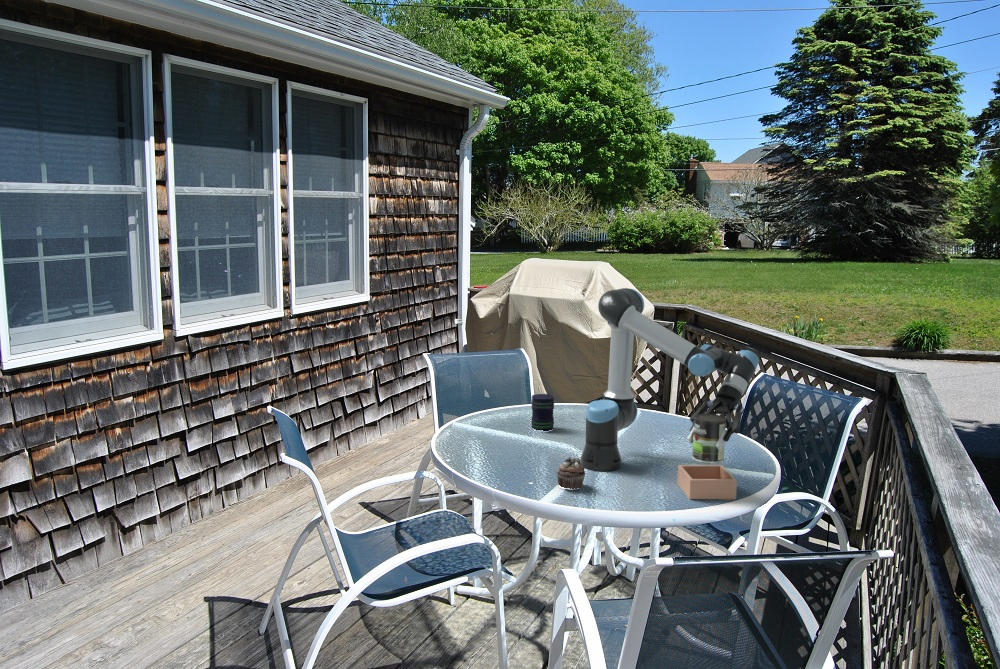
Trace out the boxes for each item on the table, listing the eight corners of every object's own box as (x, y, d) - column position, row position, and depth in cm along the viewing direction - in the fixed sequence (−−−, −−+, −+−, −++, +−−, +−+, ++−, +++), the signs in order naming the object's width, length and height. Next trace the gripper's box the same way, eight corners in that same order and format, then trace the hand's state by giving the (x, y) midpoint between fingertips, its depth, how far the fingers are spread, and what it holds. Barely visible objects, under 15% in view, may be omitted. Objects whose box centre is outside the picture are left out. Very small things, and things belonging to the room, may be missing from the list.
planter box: (689, 499, 228) (690, 480, 227) (677, 483, 242) (677, 465, 242) (735, 499, 228) (736, 480, 227) (720, 483, 243) (721, 465, 242)
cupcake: (582, 481, 244) (583, 453, 243) (586, 491, 235) (587, 462, 233) (554, 481, 244) (555, 453, 243) (557, 491, 234) (558, 462, 233)
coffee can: (705, 465, 227) (706, 422, 225) (685, 456, 236) (687, 415, 235) (731, 461, 230) (733, 419, 229) (711, 453, 240) (712, 412, 238)
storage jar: (527, 430, 309) (527, 397, 307) (537, 425, 317) (538, 393, 315) (547, 433, 304) (547, 399, 302) (557, 428, 312) (558, 395, 310)
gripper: (766, 402, 233) (739, 458, 224) (706, 391, 249) (678, 443, 241) (759, 389, 228) (730, 445, 220) (698, 379, 245) (670, 431, 237)
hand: (703, 444), depth 231 cm, fingers closed on coffee can, 10 cm apart
